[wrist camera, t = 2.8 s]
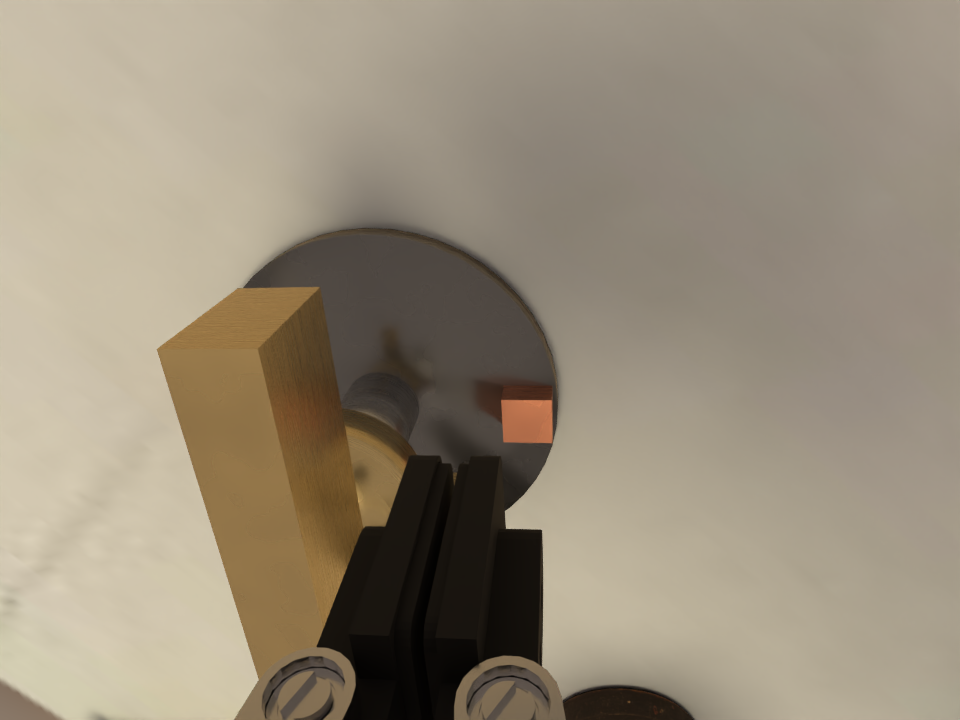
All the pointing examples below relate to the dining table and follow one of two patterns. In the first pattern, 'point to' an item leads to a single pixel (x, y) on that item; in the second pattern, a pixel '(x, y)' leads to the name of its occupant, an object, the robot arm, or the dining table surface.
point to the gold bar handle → (279, 459)
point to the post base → (431, 347)
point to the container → (622, 706)
